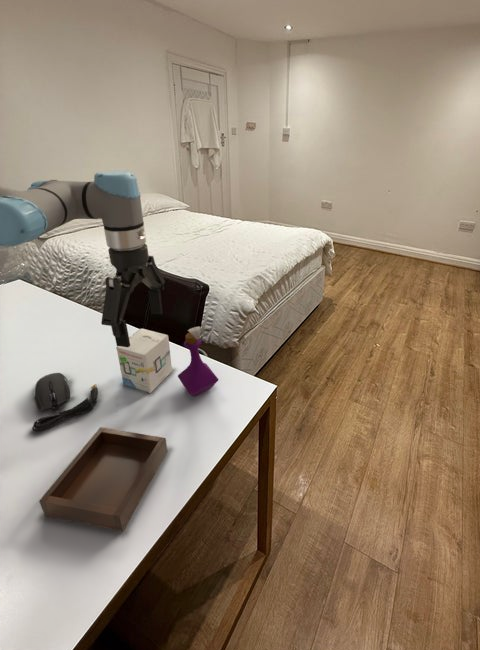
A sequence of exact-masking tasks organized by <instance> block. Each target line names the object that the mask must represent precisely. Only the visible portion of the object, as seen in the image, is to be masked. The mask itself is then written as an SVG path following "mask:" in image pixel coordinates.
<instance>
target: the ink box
mask: <svg viewBox="0 0 480 650" xmlns="http://www.w3.org/2000/svg"><path fill="white" fill-rule="evenodd" d="M129 341H130V346H129V347H121V346H117V345H116V352H117V357H118V363H119V367H120V373H121V379H122V384H123V385H126V386H128V387H131V388H134V389H137V390H139V391H143V392H146V393H150V394H151V393H152V392H153V391H154V390H155V389H156V388H157V387H158V386H159V385H161V383H162V382H164V380H165V379H167V377H168V376H169V375H170V374H171V373H173V366H172V365H173V364H172V357H171V348H170V340H169V335H168V334H166V333H161V332H158V331H154V330H149V329H145V328H139V329H138V330H137V331H136V332H134V333H133V334H132V335H130V336H129Z"/></svg>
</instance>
